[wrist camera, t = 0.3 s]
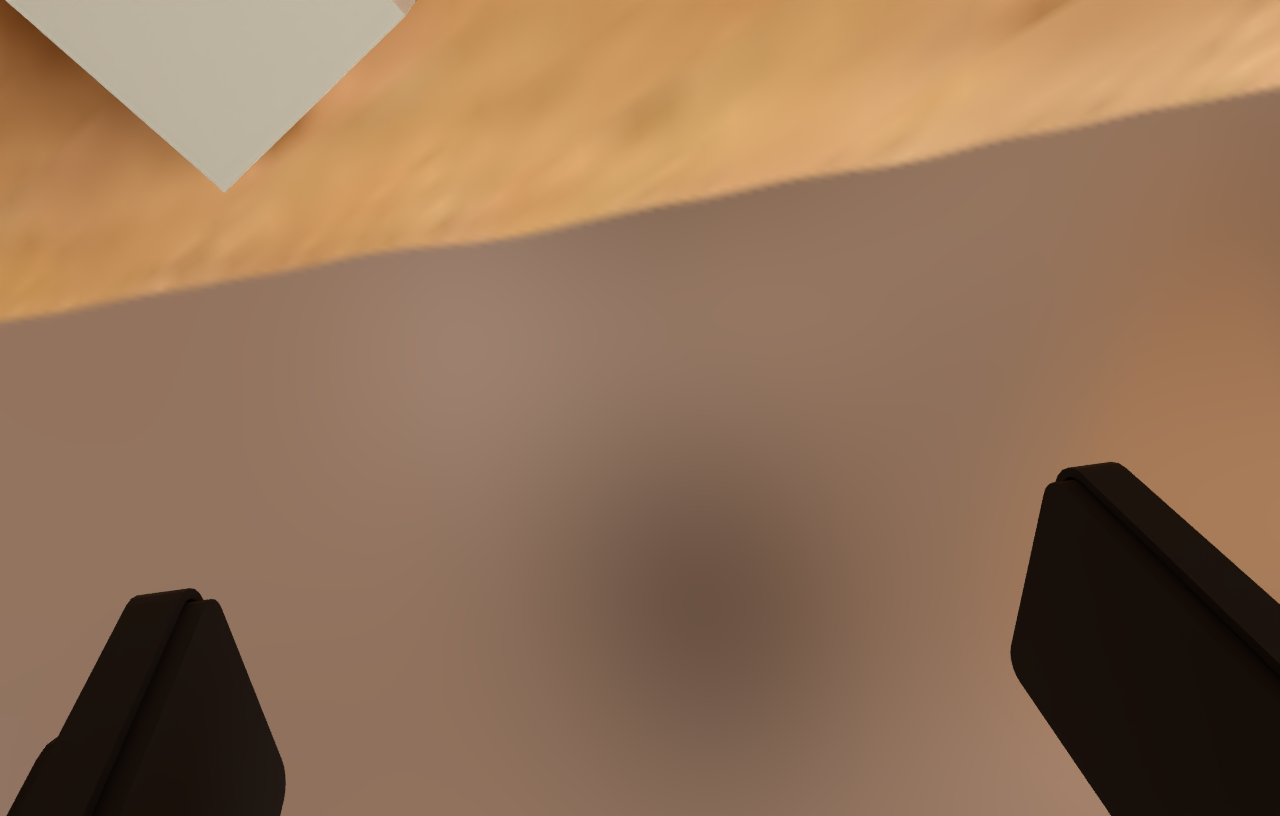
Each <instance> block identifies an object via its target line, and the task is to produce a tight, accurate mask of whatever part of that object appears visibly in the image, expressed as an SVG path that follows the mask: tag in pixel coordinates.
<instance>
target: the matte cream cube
mask: <svg viewBox="0 0 1280 816" xmlns="http://www.w3.org/2000/svg"><path fill="white" fill-rule="evenodd" d="M6 1H7V2H8V3H9V4H10V5H11V6H12V7H14V8H15V9H16V10H17V11H18V12H19V13H20V14H22V15H23V16H24V17H25V18H26V19H27V20H28V21H30V22H31V23H32V24H33V25H34V26H35V27H36V28H37V29H39V30H40V31H41V32H42V33H43V34H44V35H45V36H47V37H48V38H49V39H50V40H51V41H52V42H53V43H55V44H56V45H57V46H58V47H59V48H60V49H61V50H63V51H64V52H65V53H66V54H67V55H68V56H69V57H71V58H72V59H73V60H74V61H75V62H76V63H77V64H79V65H80V66H81V67H82V68H83V69H84V70H85V71H87V72H88V73H89V74H90V75H91V76H92V77H93V78H94V79H96V80H97V81H98V82H99V83H100V84H101V85H102V86H104V87H105V88H106V89H107V90H108V91H109V92H110V93H112V94H113V95H114V96H115V97H116V98H117V99H118V100H120V101H121V102H122V103H123V104H124V105H125V106H126V107H128V108H129V109H130V110H131V111H132V112H133V113H134V114H136V115H137V116H138V117H139V118H140V119H141V120H142V121H144V122H145V123H146V124H147V125H148V126H149V127H150V128H151V129H153V130H154V131H155V132H156V133H157V134H158V135H159V136H161V137H162V138H163V139H164V140H165V141H166V142H167V143H169V144H170V145H171V146H172V147H173V148H174V149H175V150H177V151H178V152H179V153H180V154H181V155H182V156H183V157H185V158H186V159H187V160H188V161H189V162H190V163H191V164H193V165H194V166H195V167H196V168H197V169H198V170H199V171H200V172H202V173H203V174H204V175H205V176H206V177H207V178H208V179H210V180H211V181H212V182H213V183H214V184H215V185H216V186H218V187H219V188H220V189H221V190H222V191H223V192H224V193H225V192H226V191H227V190H228V189H229V188H230V187H231V186H232V185H233V184H234V183H235V182H236V181H237V180H238V179H239V178H240V177H241V176H242V175H243V174H244V173H245V172H246V171H247V170H248V169H249V168H250V167H251V166H252V165H253V164H254V163H255V162H256V161H257V160H259V159H260V158H261V157H262V156H263V155H264V154H265V153H266V152H267V151H268V150H269V149H270V148H271V147H272V146H273V145H274V144H275V143H276V142H277V141H278V140H279V139H280V138H281V137H282V136H283V135H284V134H285V133H286V132H287V131H288V130H289V129H290V128H291V127H292V126H293V125H294V124H295V123H296V122H297V121H298V120H299V119H300V118H302V117H303V116H304V115H305V114H306V113H307V112H308V111H309V110H310V109H311V108H312V107H313V106H314V105H315V104H316V103H317V102H318V101H319V100H320V99H321V98H322V97H323V96H324V95H325V94H326V93H327V92H328V91H329V90H330V89H331V88H332V87H333V86H334V85H335V84H336V83H337V82H338V81H339V80H340V79H341V78H342V77H343V76H344V75H346V74H347V73H348V72H349V71H350V70H351V69H352V68H353V67H354V66H355V65H356V64H357V63H358V62H359V61H360V60H361V59H362V58H363V57H364V56H365V55H366V54H367V53H368V52H369V51H370V50H371V49H372V48H373V47H374V46H375V45H376V44H377V43H378V42H379V41H380V40H381V39H382V38H383V37H384V36H385V35H386V34H387V33H389V32H390V31H391V30H392V29H393V28H394V27H395V26H396V25H397V24H398V23H399V22H400V21H401V20H402V19H403V18H404V17H405V16H406V15H407V13H408V12H409V10H410V9H411V7H412V6H413V4H414V3H415V1H416V0H6Z"/></svg>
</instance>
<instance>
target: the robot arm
mask: <svg viewBox="0 0 1280 816" xmlns="http://www.w3.org/2000/svg"><path fill="white" fill-rule="evenodd" d="M1011 661H1012V665H1013V669H1014V671H1015V674H1016V676H1017V678H1018V679H1019V681H1020V683H1021V684H1022V686H1023V687H1024V689H1025V690H1026V691H1027V693H1028V694H1029V696H1030V697H1031V699H1032V700H1033V702H1034V703H1035V705H1036V706H1037V708H1038V709H1039V711H1040V712H1041V713H1042V715H1043V716H1044V718H1045V719H1046V721H1047V722H1048V724H1049V725H1050V727H1051V728H1052V729H1053V731H1054V733H1055V734H1056V735H1057V737H1058V738H1059V740H1060V741H1061V743H1062V744H1063V746H1064V747H1065V749H1066V750H1067V752H1068V753H1069V754H1070V756H1071V758H1072V759H1073V760H1074V762H1075V763H1076V765H1077V766H1078V768H1079V769H1080V771H1081V772H1082V774H1083V775H1084V776H1085V778H1086V779H1087V781H1088V783H1089V784H1090V785H1091V787H1092V788H1093V790H1094V791H1095V793H1096V794H1097V796H1098V797H1099V798H1100V800H1101V802H1102V803H1103V804H1104V806H1105V807H1106V809H1107V810H1108V812H1109V813H1110V815H1111V816H1280V604H1279V603H1278V602H1276V601H1275V600H1274V599H1273V598H1272V597H1271V596H1270V595H1269V594H1267V593H1266V592H1265V591H1264V590H1263V589H1262V588H1261V587H1260V586H1258V585H1257V584H1256V583H1255V582H1254V581H1253V580H1252V579H1251V578H1249V577H1248V576H1247V575H1246V574H1245V573H1244V572H1242V571H1241V570H1240V569H1239V568H1238V567H1237V566H1236V565H1235V564H1234V563H1233V562H1231V561H1230V560H1229V559H1228V558H1227V557H1226V556H1225V555H1223V554H1222V553H1221V552H1220V551H1219V550H1218V549H1217V548H1216V547H1215V546H1213V545H1212V544H1211V543H1210V542H1209V541H1208V540H1207V539H1205V538H1204V537H1203V536H1202V535H1201V534H1200V533H1199V532H1198V531H1196V530H1195V529H1194V528H1193V527H1192V526H1191V525H1190V524H1189V523H1187V522H1186V521H1185V520H1184V519H1183V518H1182V517H1180V515H1178V514H1177V513H1176V512H1175V511H1174V510H1173V509H1171V508H1170V507H1169V506H1168V505H1167V504H1166V503H1165V502H1164V501H1163V500H1162V499H1160V498H1159V497H1158V496H1157V495H1156V494H1155V493H1153V492H1152V491H1151V490H1150V489H1149V488H1148V487H1147V486H1146V485H1145V484H1143V483H1142V482H1141V481H1140V480H1139V479H1138V478H1136V477H1135V476H1134V475H1133V474H1132V473H1131V472H1130V471H1129V470H1128V469H1127V468H1125V467H1124V466H1122V465H1121V464H1119V463H1115V462H1107V463H1099V464H1092V465H1085V466H1078V467H1071V468H1067V469H1064V470H1062V471H1061V472H1060V474H1059V475H1058V476H1057V479H1056V482H1054V483H1050V484H1049V485H1048V486H1047V487H1046V489H1045V492H1044V495H1043V500H1042V505H1041V509H1040V514H1039V518H1038V523H1037V528H1036V532H1035V537H1034V542H1033V547H1032V551H1031V556H1030V560H1029V565H1028V570H1027V574H1026V579H1025V583H1024V588H1023V593H1022V597H1021V602H1020V607H1019V611H1018V616H1017V621H1016V625H1015V630H1014V635H1013V640H1012V644H1011ZM285 785H286V782H285V770H284V765H283V762H282V759H281V757H280V754H279V751H278V749H277V746H276V744H275V741H274V739H273V737H272V734H271V731H270V729H269V726H268V724H267V721H266V719H265V716H264V714H263V711H262V709H261V707H260V704H259V701H258V699H257V696H256V693H255V691H254V689H253V686H252V683H251V681H250V679H249V676H248V673H247V671H246V669H245V666H244V663H243V661H242V658H241V656H240V653H239V651H238V648H237V646H236V643H235V641H234V638H233V636H232V633H231V631H230V628H229V626H228V623H227V621H226V618H225V616H224V613H223V611H222V608H221V606H220V604H219V603H218V602H217V601H216V600H214V599H209V600H203V598H202V597H201V595H200V593H199V592H197V591H196V590H195V589H191V588H188V589H181V590H174V591H166V592H159V593H152V594H145V595H137V596H135V597H134V598H132V599H131V600H130V601H129V602H128V604H127V605H126V607H125V609H124V611H123V612H122V614H121V616H120V618H119V620H118V622H117V624H116V626H115V628H114V630H113V632H112V634H111V636H110V638H109V639H108V641H107V643H106V645H105V647H104V649H103V651H102V653H101V655H100V657H99V659H98V661H97V663H96V665H95V666H94V668H93V670H92V672H91V674H90V676H89V678H88V680H87V682H86V684H85V686H84V688H83V689H82V691H81V693H80V695H79V697H78V699H77V701H76V703H75V705H74V707H73V709H72V711H71V712H70V714H69V716H68V718H67V720H66V722H65V724H64V726H63V728H62V730H61V732H60V734H59V736H58V737H57V738H55V739H54V740H53V741H51V742H50V743H49V744H47V745H46V747H45V748H44V749H43V751H42V752H41V754H40V755H39V757H38V758H37V760H36V761H35V763H34V765H33V767H32V769H31V771H30V773H29V775H28V776H27V779H26V780H25V782H24V784H23V786H22V788H21V790H20V791H19V794H18V795H17V797H16V799H15V801H14V803H13V805H12V807H11V808H10V810H9V812H8V814H7V816H280V814H281V810H282V805H283V801H284V796H285Z"/></svg>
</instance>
